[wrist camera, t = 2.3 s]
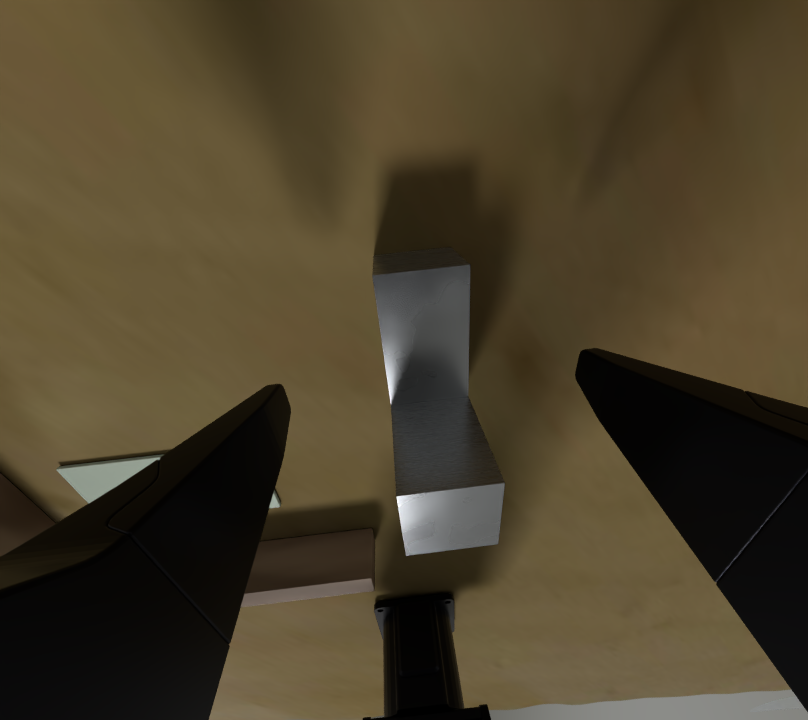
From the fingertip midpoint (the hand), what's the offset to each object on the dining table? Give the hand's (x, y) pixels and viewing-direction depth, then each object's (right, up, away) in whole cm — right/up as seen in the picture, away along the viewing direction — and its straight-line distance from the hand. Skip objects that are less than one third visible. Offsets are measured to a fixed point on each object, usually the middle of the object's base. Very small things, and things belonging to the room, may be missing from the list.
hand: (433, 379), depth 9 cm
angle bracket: (0, +1, +5) cm, 5 cm away
